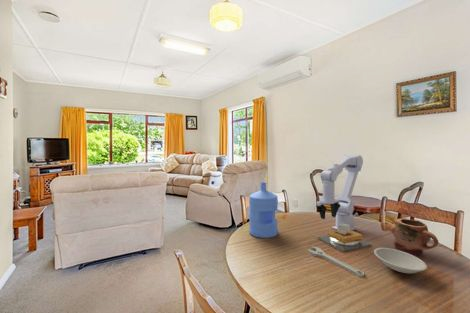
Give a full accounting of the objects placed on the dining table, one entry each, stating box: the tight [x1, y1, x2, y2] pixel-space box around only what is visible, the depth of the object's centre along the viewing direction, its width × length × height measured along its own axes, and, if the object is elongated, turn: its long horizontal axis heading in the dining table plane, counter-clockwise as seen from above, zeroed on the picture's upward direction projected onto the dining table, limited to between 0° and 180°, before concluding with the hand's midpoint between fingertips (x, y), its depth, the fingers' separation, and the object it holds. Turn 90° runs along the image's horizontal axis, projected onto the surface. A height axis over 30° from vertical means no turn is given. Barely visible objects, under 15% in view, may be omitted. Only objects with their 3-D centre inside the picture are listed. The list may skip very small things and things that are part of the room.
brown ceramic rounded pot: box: [389, 218, 439, 257], centre depth 101 cm, size 20×12×14 cm, turn 20°
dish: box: [373, 247, 428, 274], centre depth 87 cm, size 18×14×5 cm
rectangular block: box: [338, 223, 350, 236], centre depth 113 cm, size 4×4×7 cm
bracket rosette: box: [317, 229, 372, 253], centre depth 113 cm, size 18×16×4 cm
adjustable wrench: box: [307, 246, 365, 278], centre depth 94 cm, size 25×6×2 cm, turn 25°
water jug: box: [248, 181, 279, 239], centre depth 125 cm, size 16×16×28 cm
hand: (328, 217), depth 122 cm, fingers open, 7 cm apart
